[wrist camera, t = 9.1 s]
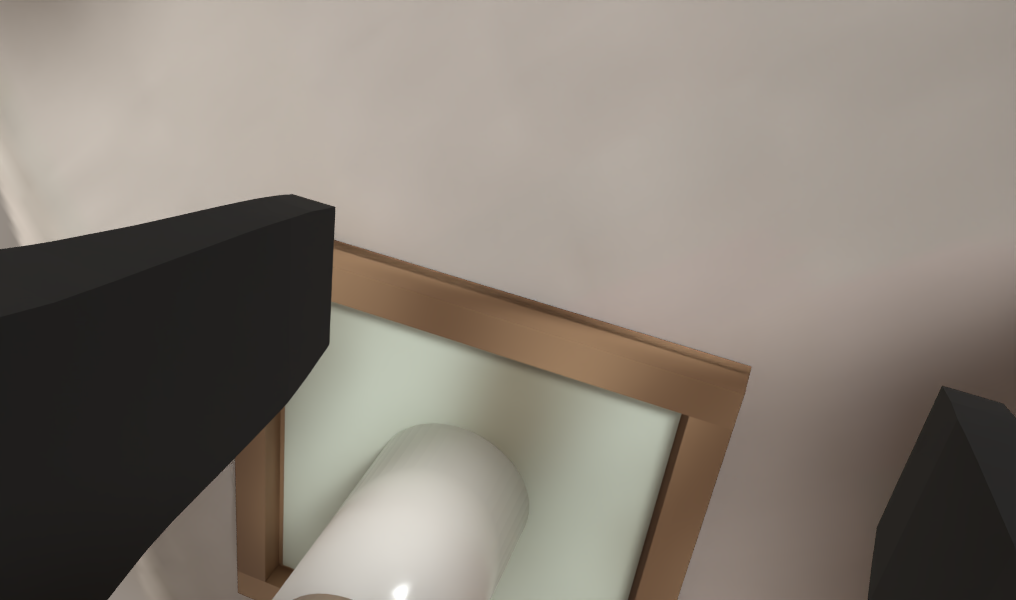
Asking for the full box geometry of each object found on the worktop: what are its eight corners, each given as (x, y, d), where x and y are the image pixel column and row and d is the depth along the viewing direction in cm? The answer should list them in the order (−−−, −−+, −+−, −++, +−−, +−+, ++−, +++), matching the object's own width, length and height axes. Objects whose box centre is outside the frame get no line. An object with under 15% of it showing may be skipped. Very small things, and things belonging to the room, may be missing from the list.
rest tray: (751, 366, 22) (744, 394, 21) (636, 718, 28) (627, 752, 27) (257, 216, 24) (230, 234, 24) (259, 567, 31) (238, 592, 30)
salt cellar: (533, 445, 24) (432, 639, 19) (525, 570, 26) (432, 777, 21) (377, 407, 25) (239, 579, 20) (382, 530, 27) (259, 716, 22)
